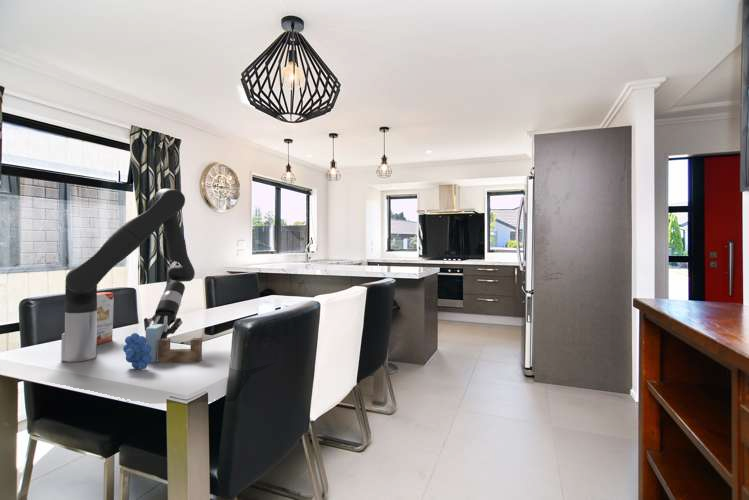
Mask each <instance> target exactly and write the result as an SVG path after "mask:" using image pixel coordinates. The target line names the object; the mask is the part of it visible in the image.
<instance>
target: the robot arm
mask: <svg viewBox="0 0 749 500" xmlns="http://www.w3.org/2000/svg"><path fill="white" fill-rule="evenodd" d="M154 202H155V203H154V204H153V205H151V207H149V208H148V210H146V211H144V212H143V213H140V214H139V215H137V216H134V217H133V218H132V219H130V220H128V221H127V222H126V223H124V224H123V225H122V226H120V227H119V228H118V229H117V230H115V231H114V232H113V234H111V236H109V238H108V239H107V240H106V241H105V242H104V243H103V244H102V245H101V247H100V248H99V249H98V250H97V252H95V254H94V255H92V256H91V257H89V258H88V259H87V260H86V261H85V262H83V263H82V264H80V265H79V266H77V267H73V268H72V269H70V270H69V271H68V273H66V276H65V288H64V289H65V295H64V297H65V299H64V332H63V333H61V350H60V351H61V353H60V361H61V362H68V363H77V362H78V363H79V362H84V361H89V360H93V359H95V358H96V357H97V344H96V342H97V293H98V284H100V282H101V280H103V279H104V278H105V276H106V275H107V274H108V273H109V272H110V271H111V270H112V269H113V268H114V267H116V266H117V265H118V264H119V263H120V262H122V261H123V260H124V259H126V258H127V257H129V255H131V254H132V253H134V252H135V250H137V249H138V248H139V247H140V246H141V245H142V244H143V243H144V242H145V241H146V240H147V239H148V238H149V237H151V236H152V234H153V233H154V232H156V230H157V229H159V227H160V226H161V225H162V227H163V231H164V235H165V240H166V247H167V248H166V249H167V254H168V259H169V261H171V262H177V263H179V265H172V266H170V267H168V268H167V271H166V284H165V285H166V286H165V288H164V291H163V294H162V295H161V297H160V299H159V302H158V304H157V307H156V309H155V312H154V315H152V317H151V318H150V317H149V318H147V317H145V318H144V319H143V325H144V331H145V332H146V328H148V327H150V326H152V325H154V324H165V325H164V332H163V333H162V335H161V338H168V335H174V334H175V333H176V331H178V329H179V327H180V326H181V325H182V324H183V321H182V319H181V317H178V318H177V315H178V312H179V310H180V307H181V303H182V299H183V295H184V293H185V288H186V286H185V284H184V282H191V281H192V280H193V279H194V278H195V274H196V272H195V268H194V266H193V264H192V262H191V260H190V258H189V256H188V250H187V245H186V244H187V243H186V239H185V236H184V233H183V230H182V228H181V225H180V223H179V217H178V212H179V211H181V210H183V207H184V206H185V203H186V197H185V195H184V193H183V192H182V191H180V190H177V189H174V188H169V187H168V188H162V189H159V190H158V191H156V193H155V196H154ZM151 324H152V325H151ZM161 338H160V339H161Z"/></svg>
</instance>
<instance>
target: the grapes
mask: <svg viewBox="0 0 749 500" xmlns="http://www.w3.org/2000/svg"><path fill="white" fill-rule="evenodd" d="M124 342H125V343H124V346H122V350H123V352H124V353H125V361H126V362H127V363H129V364H130V363H131V368H133V369H135V370H138V369H140V370H146V369H147V368H148V364H149V363H152V362H151V360H152V357H151V355H150V354H149V353H150V352H151V347H150V346H149V345H148V344H146V342H147V340H146V336H143V335H140V334H138V333H137V332H133V333H131V334H130V335H129V336H128V335H127V336H126V337H125V338H124Z"/></svg>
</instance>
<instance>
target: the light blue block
mask: <svg viewBox="0 0 749 500" xmlns="http://www.w3.org/2000/svg"><path fill="white" fill-rule="evenodd" d="M164 325H165V324H154V325H153V324H152V325H150V327H148V328H146V331H145V338H146V340H147V342H146V344H148V345H149V346H150V347H151V352H150V353H149V354H150V355H151V357H152V360H151V362H150V363H157V362H158V340H160V338H161V335H162V333H163V332H164Z"/></svg>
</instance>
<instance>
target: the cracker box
mask: <svg viewBox="0 0 749 500" xmlns="http://www.w3.org/2000/svg"><path fill="white" fill-rule="evenodd" d="M114 299H115V292H108V291H107V292H104V291H103V292H97V342H96V345H98V344H99V345H100V344H103V343H107V342H111V341H113V329H114V303H115V300H114Z"/></svg>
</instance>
